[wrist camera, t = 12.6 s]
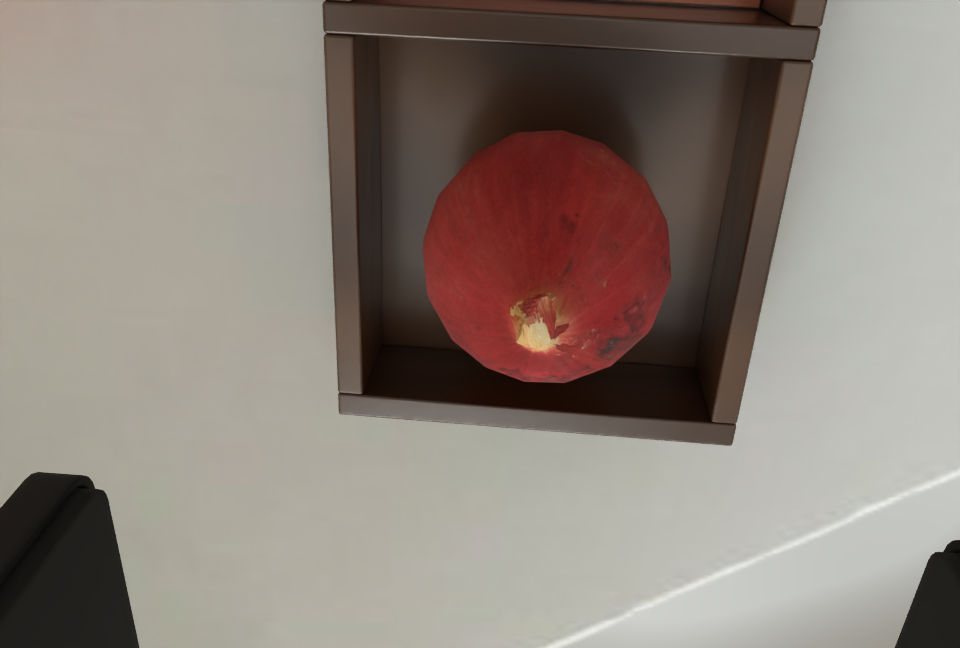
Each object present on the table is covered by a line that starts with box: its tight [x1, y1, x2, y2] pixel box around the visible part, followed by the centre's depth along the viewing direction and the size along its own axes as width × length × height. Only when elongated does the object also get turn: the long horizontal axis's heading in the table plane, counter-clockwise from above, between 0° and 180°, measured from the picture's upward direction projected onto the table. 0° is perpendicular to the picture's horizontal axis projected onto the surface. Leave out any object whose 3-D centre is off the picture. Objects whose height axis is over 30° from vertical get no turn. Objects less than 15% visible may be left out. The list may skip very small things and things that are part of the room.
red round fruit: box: [423, 130, 672, 383], centre depth 20 cm, size 6×6×8 cm
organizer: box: [323, 0, 827, 446], centre depth 20 cm, size 21×11×4 cm, turn 178°
